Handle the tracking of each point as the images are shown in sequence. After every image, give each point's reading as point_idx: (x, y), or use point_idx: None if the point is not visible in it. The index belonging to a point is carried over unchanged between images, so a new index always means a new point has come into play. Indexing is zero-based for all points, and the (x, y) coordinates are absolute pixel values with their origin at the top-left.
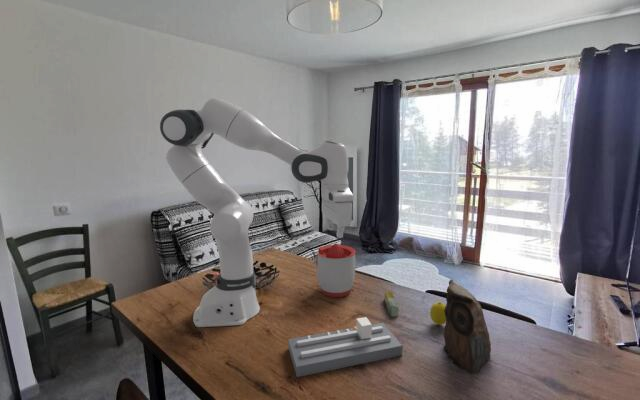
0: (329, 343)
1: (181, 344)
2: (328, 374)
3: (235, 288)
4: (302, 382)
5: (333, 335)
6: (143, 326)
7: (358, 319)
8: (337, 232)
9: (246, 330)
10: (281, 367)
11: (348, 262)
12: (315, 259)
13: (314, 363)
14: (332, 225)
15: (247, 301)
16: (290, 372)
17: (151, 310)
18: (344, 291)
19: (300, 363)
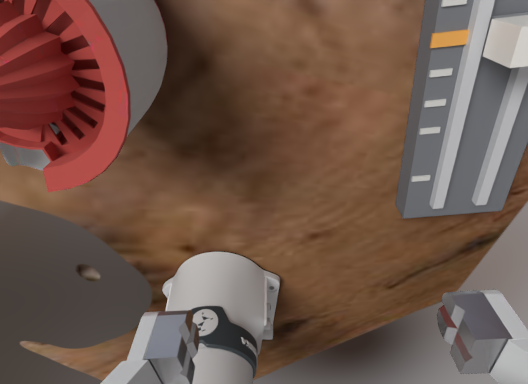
0: (466, 136)
1: (315, 337)
2: None
3: (257, 351)
4: None
5: (457, 126)
6: None
7: (518, 62)
8: (498, 373)
9: (301, 268)
10: (446, 217)
11: (108, 6)
12: (16, 157)
13: (513, 178)
14: (180, 363)
15: (254, 301)
16: None
17: None
18: (158, 9)
19: (497, 203)
